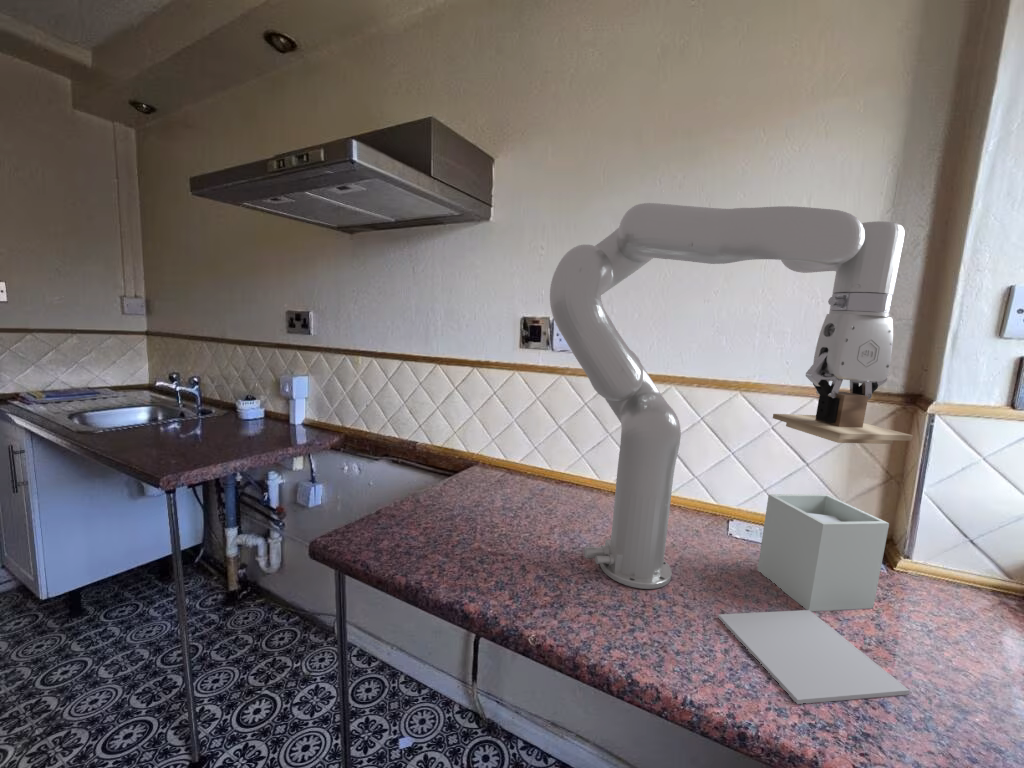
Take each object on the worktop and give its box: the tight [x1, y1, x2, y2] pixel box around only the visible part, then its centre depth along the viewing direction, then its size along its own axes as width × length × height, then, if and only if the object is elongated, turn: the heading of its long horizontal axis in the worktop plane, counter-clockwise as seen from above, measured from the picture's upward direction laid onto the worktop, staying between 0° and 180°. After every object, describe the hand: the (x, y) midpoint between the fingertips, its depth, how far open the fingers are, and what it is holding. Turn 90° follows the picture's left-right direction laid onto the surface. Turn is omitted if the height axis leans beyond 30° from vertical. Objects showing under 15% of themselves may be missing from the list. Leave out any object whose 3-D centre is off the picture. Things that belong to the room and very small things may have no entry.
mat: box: [717, 609, 910, 705], centre depth 64 cm, size 16×16×1 cm
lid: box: [772, 390, 914, 445], centre depth 73 cm, size 13×13×7 cm
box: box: [757, 493, 890, 613], centre depth 80 cm, size 12×12×15 cm
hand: (838, 420), depth 73 cm, fingers closed on lid, 4 cm apart
